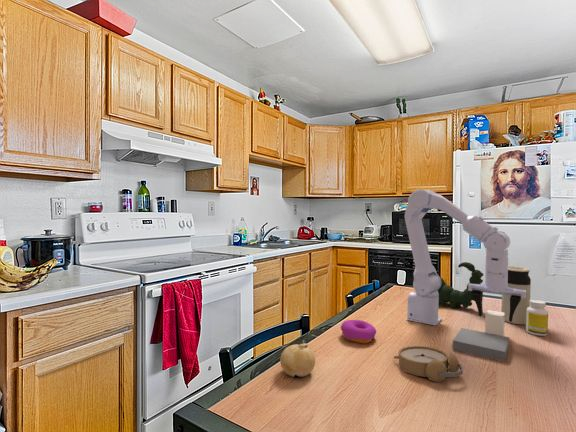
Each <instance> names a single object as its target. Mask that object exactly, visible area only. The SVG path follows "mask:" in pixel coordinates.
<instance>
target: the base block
mask: <svg viewBox="0 0 576 432" xmlns="http://www.w3.org/2000/svg"><path fill="white" fill-rule="evenodd" d="M509 347H510V337H509V336H505V335H504V336H500V335H495V334H490V333H485V331H478V330H476V329H475V330H473V329H470V328H465V327H461V328H460V329H459V331H458V332H457V334H456V335H455V336H454V338H453V340H452V350H453V351H458V352H460V353H461V352H462V353H467V354H469V355H474V356H478V357H481V358H485V359H486V358H488V359H490V360H496V361H500V362H504V363H505V362H506V361H507V359H506V358H507V355H508V351H509Z"/></svg>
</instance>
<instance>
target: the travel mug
mask: <svg viewBox="0 0 576 432" xmlns="http://www.w3.org/2000/svg"><path fill="white" fill-rule="evenodd" d="M530 272H531V269H530V268H527V267H523V266H514V265H513V266H509V265H508V287H509V288H514V289H519V290H526V298H521V301H520V302H519V304H518V306H517V307H516V309H515V312H514V314H513V319H512V322H510V321H509V315H510V297H511V296H508V295H501V310H500V312H503V313H505V322H506V323H509V324H513V325H519V326H520V325H522V326H523V325H526V312H527V308H528V307H530V300H531V287H532V286H531V285H532V284H531V282H532V281H531V280H532V279H531V277H530V275H529V274H530Z"/></svg>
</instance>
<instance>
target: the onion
mask: <svg viewBox="0 0 576 432" xmlns="http://www.w3.org/2000/svg"><path fill="white" fill-rule="evenodd" d="M279 358H280V359H279V363H280V367H281V369H282V370H283V371H284V373H285V374H287V375H288V376H290V377H292V378H296V376H297V377H300V378H303V377H307V376H308V375H309V374H310V373H312V371H313V370H314V367H315V365H316V357H315V354H314V353H313V351H312V350H311V348H309V344H308V343H305V340H304V339H303V340H302V343H300V344H297V343H296V344H295V343H294V344H292V345H289V346H286V347H285V349H284V350H283V351H282V352H281V354H280V357H279Z"/></svg>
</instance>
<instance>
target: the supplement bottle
mask: <svg viewBox="0 0 576 432" xmlns="http://www.w3.org/2000/svg"><path fill="white" fill-rule="evenodd" d="M546 304H547V302H545V301H543V300H539V299H538V300H537V299H530V307H528V308H527V312H526V324H525V332H527V333H528V334H531V335H533V336H540V337H543V336H544V337H545V336H547V335H548V329H549V328H548V325H549V324H548V323H549V311H548V310H547V309H546V307H547V305H546Z"/></svg>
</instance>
